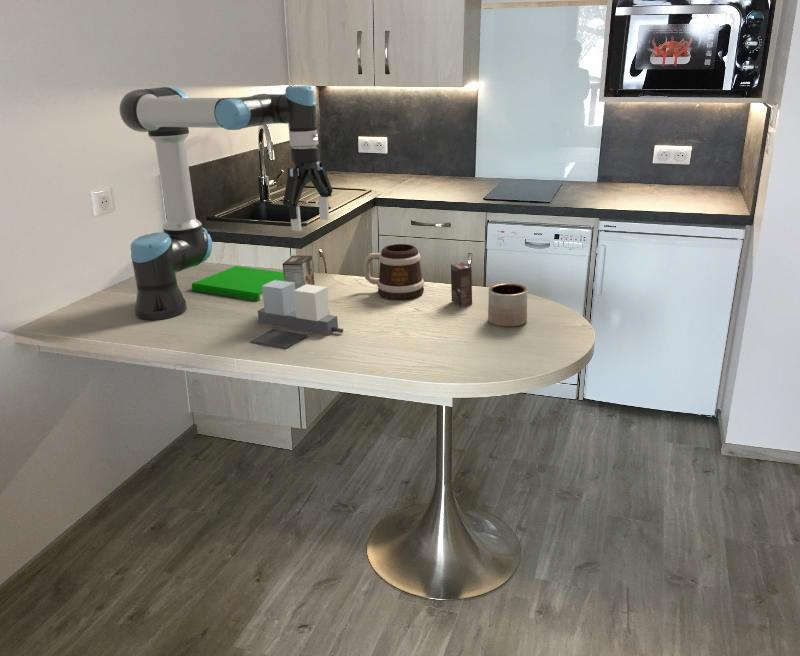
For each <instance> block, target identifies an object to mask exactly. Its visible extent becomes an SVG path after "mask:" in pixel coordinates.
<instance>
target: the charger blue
mask: <svg viewBox="0 0 800 656" xmlns="http://www.w3.org/2000/svg"><path fill="white" fill-rule="evenodd" d="M294 290H295V283H294V282H286V281H279V280H274V281H271V282H269V283H267V284H265V285H263V286H262V292H263V299H262V300H263V308H264V310H265V313H270V314H276V315H282V316H285V315H287V314H289V313H291V312H293V311H295V299H294Z"/></svg>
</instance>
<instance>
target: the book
mask: <svg viewBox="0 0 800 656" xmlns="http://www.w3.org/2000/svg"><path fill="white" fill-rule="evenodd" d="M274 280H279V281H284V273H283V271H278V270H277V271H276V270H268V269H267V270H266V269H262V268H254V267H248V266H247V267H246V266H240V265H239V266H238V265H234V266H232V267H230V268H227V269H225V270H223V271H220V272H217V273H214V274H212V275H210V276H207V277H204V278H202V279H199V280H197V281H193V282H192V284H191V290H192V291H193V292H199V293H206V294H212V295H218V296H223V295H224V296H225V297H231V298H237V299H242V300H243V299H244V300H248V301H249V300H250V301H255V302H260V301H261V300H263V292H262V286H263V285H265V284H267V283H269V282H271V281H274Z"/></svg>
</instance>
